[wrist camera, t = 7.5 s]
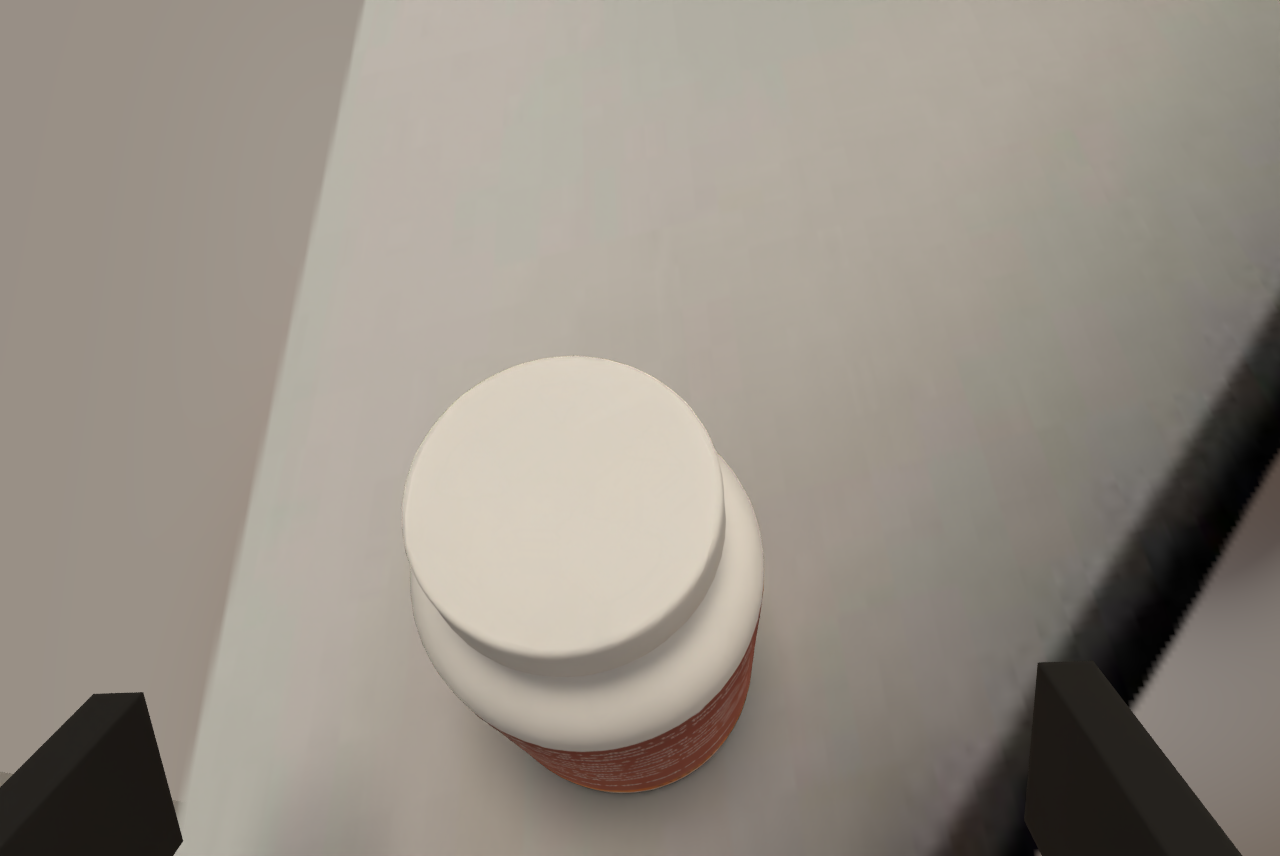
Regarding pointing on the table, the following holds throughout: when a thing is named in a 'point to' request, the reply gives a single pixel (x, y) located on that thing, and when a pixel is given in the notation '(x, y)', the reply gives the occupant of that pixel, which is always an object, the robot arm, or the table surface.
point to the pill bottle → (586, 570)
